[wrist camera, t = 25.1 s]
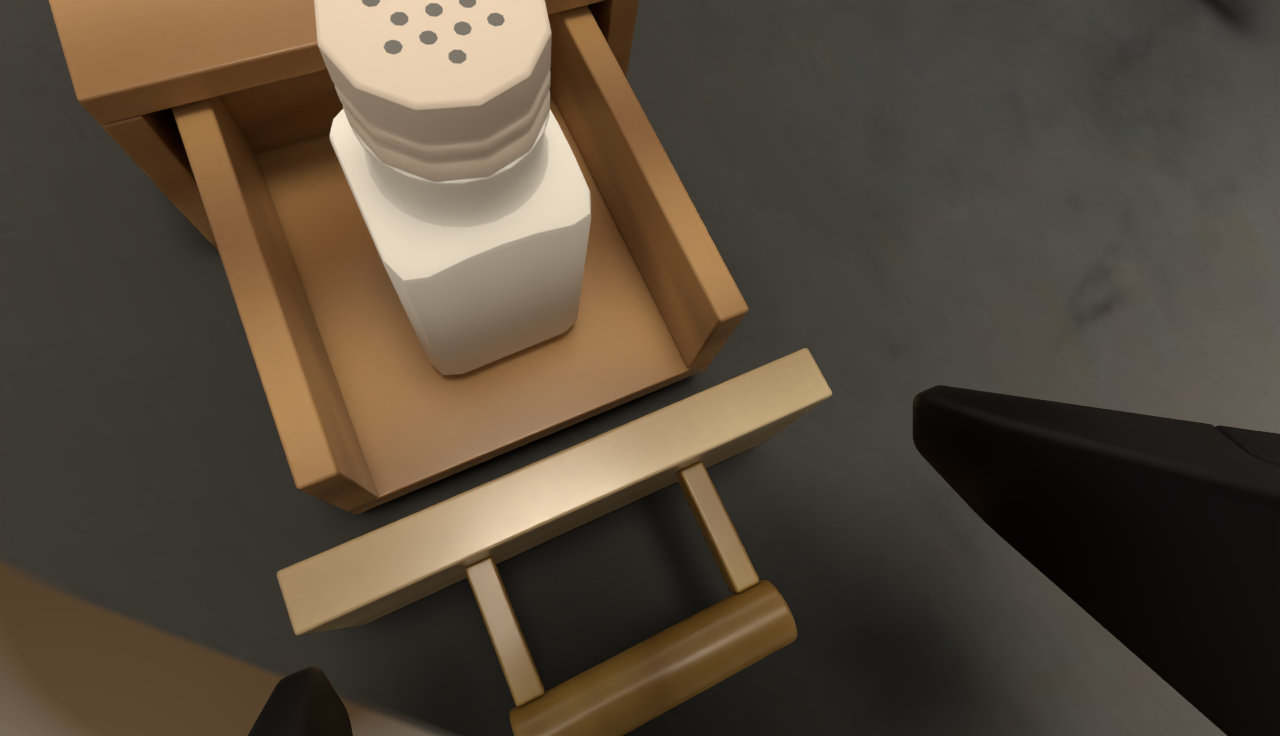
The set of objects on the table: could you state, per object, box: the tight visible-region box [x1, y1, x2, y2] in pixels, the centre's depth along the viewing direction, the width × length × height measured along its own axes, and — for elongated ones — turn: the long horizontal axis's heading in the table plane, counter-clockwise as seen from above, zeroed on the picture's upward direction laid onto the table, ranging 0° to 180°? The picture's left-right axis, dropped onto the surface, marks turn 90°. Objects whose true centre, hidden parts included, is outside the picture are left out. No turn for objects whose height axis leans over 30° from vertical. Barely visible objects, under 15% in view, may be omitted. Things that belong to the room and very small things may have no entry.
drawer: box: [172, 5, 832, 736], centre depth 17 cm, size 18×11×5 cm, turn 25°
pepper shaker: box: [314, 0, 591, 375], centre depth 14 cm, size 4×4×10 cm
